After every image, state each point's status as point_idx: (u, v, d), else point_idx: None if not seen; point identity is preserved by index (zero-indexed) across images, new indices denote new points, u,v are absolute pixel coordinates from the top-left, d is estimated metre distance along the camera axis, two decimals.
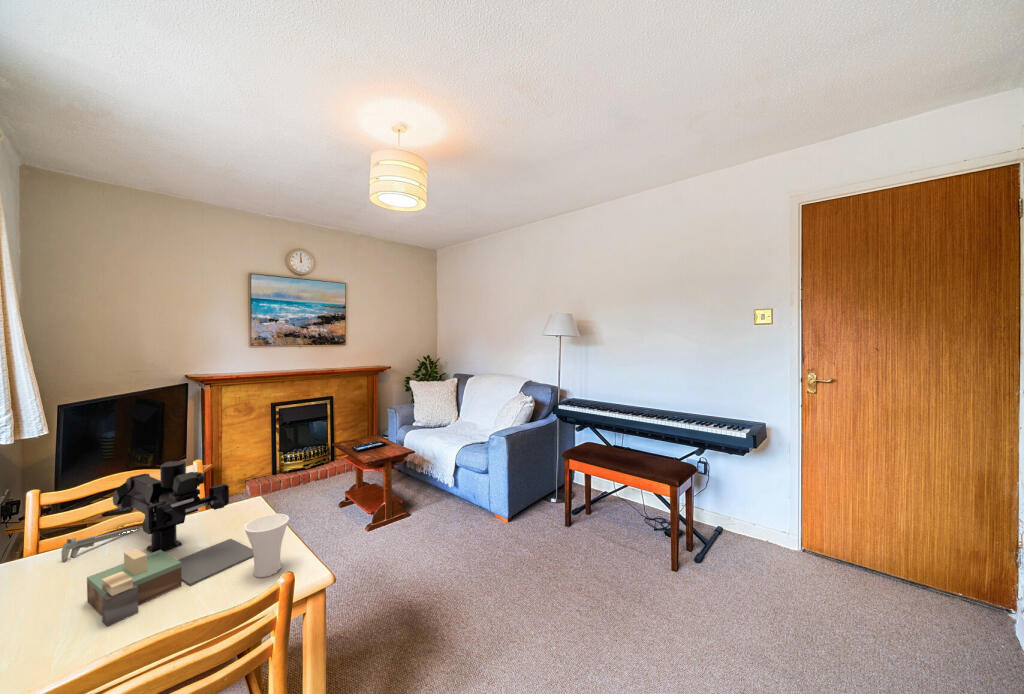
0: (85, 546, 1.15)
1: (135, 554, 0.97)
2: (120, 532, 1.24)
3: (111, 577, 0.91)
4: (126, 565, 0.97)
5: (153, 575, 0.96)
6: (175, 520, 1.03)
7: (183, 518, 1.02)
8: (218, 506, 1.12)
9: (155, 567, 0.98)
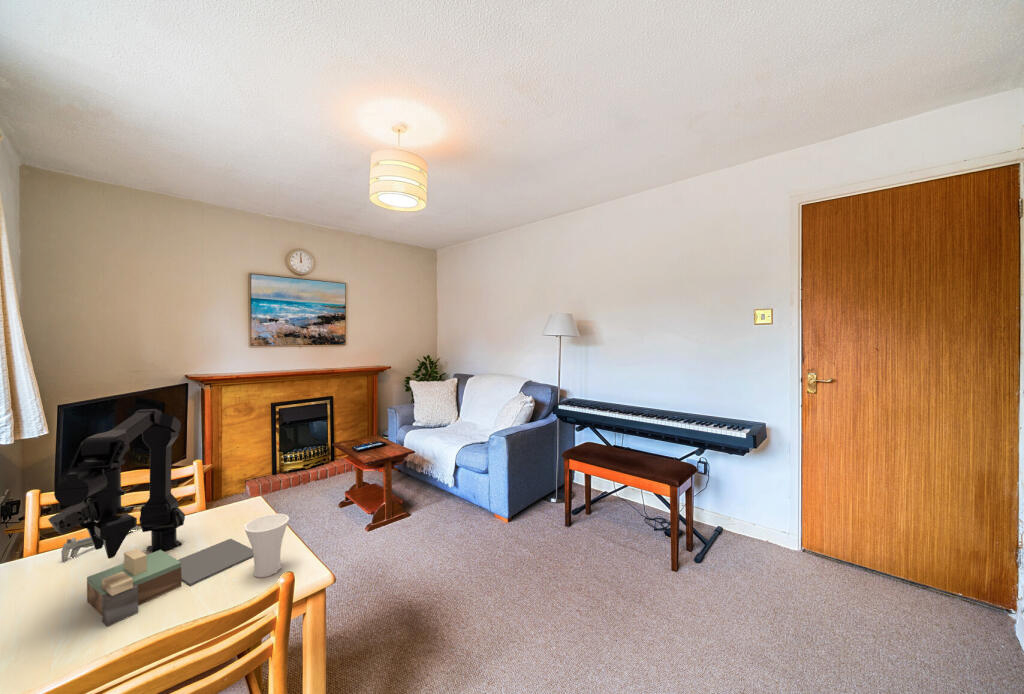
0: (85, 546, 1.15)
1: (135, 554, 0.97)
2: None
3: (111, 577, 0.91)
4: (126, 565, 0.97)
5: (153, 575, 0.96)
6: None
7: None
8: None
9: (155, 567, 0.98)
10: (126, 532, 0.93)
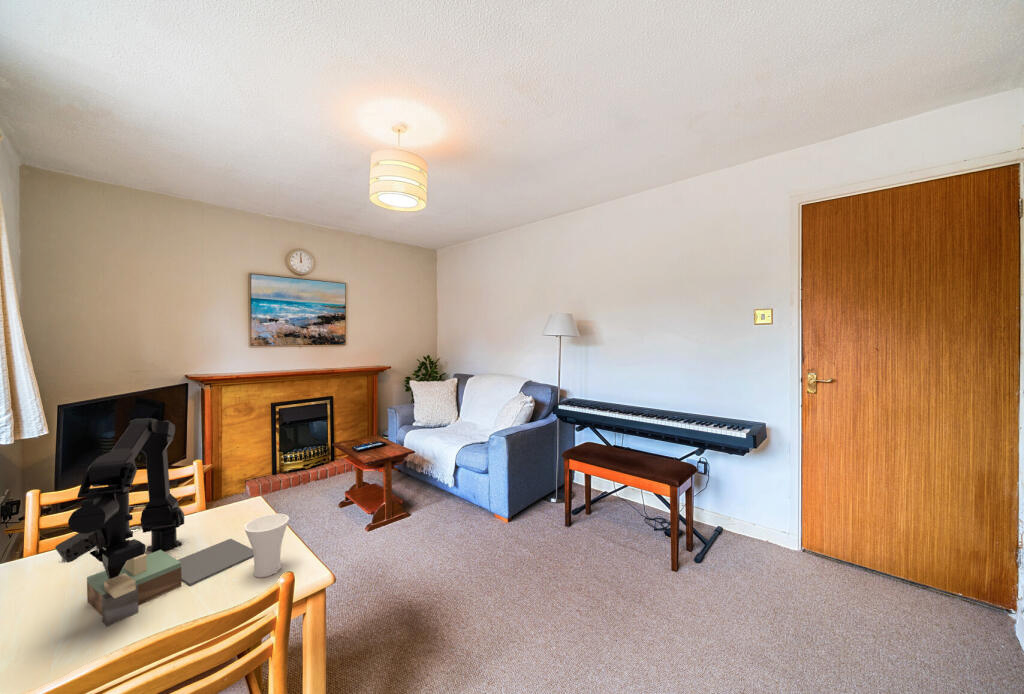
0: None
1: None
2: None
3: (114, 579, 0.90)
4: (126, 565, 0.97)
5: (153, 575, 0.96)
6: None
7: None
8: None
9: (155, 567, 0.98)
10: None
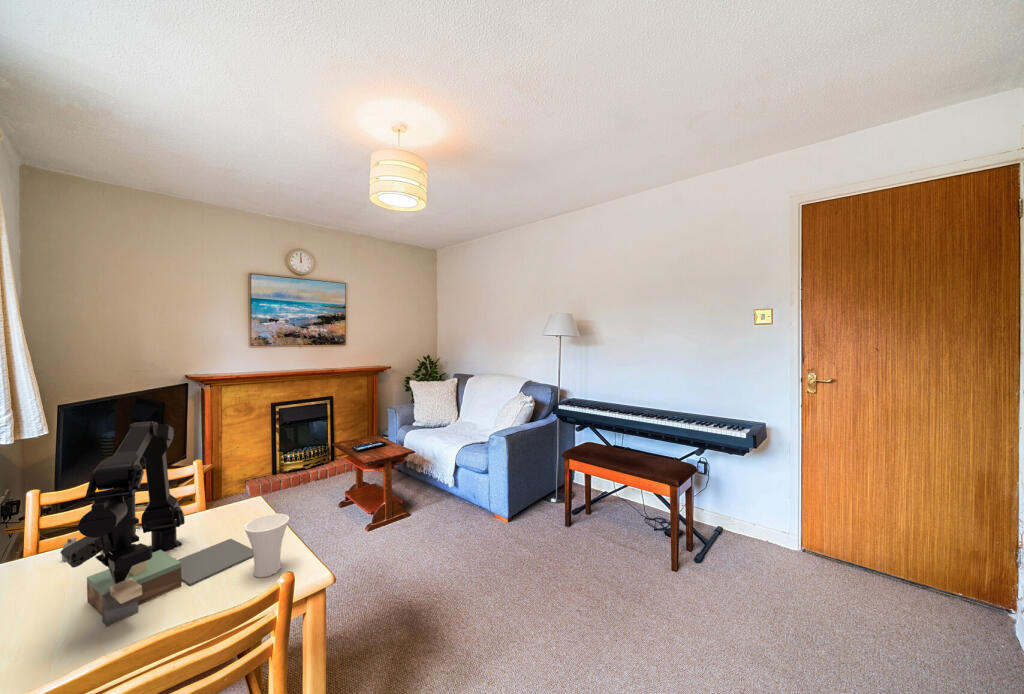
0: None
1: None
2: None
3: (119, 584, 0.88)
4: None
5: (153, 575, 0.96)
6: None
7: None
8: None
9: (155, 567, 0.98)
10: None
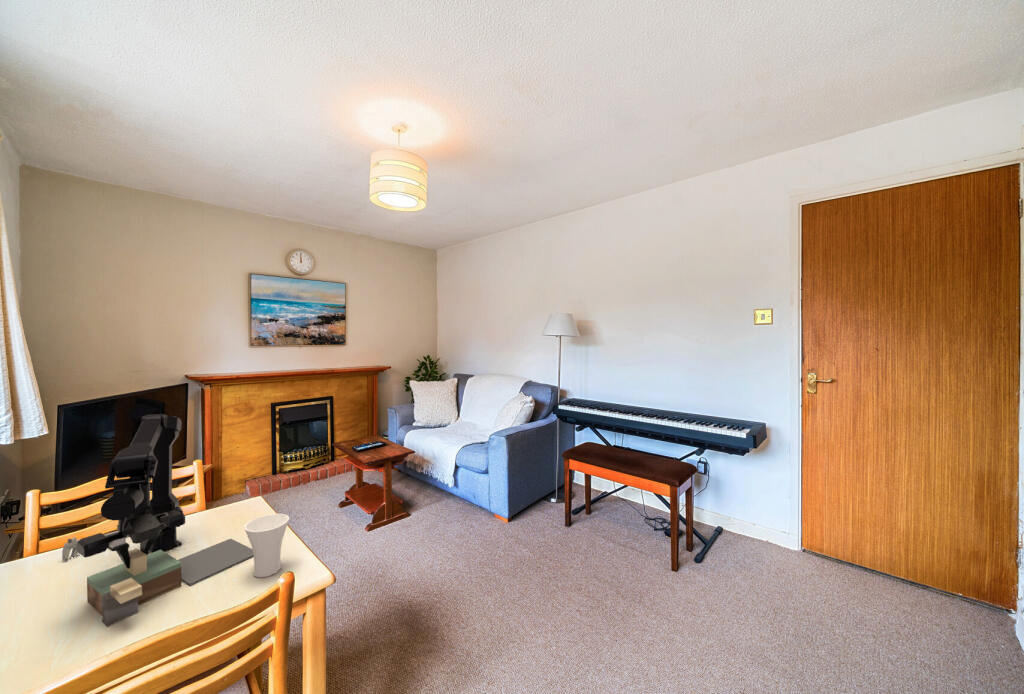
0: None
1: (135, 554, 0.97)
2: None
3: (120, 584, 0.88)
4: None
5: (153, 575, 0.96)
6: (121, 559, 0.96)
7: None
8: (141, 550, 0.99)
9: (155, 567, 0.98)
10: None
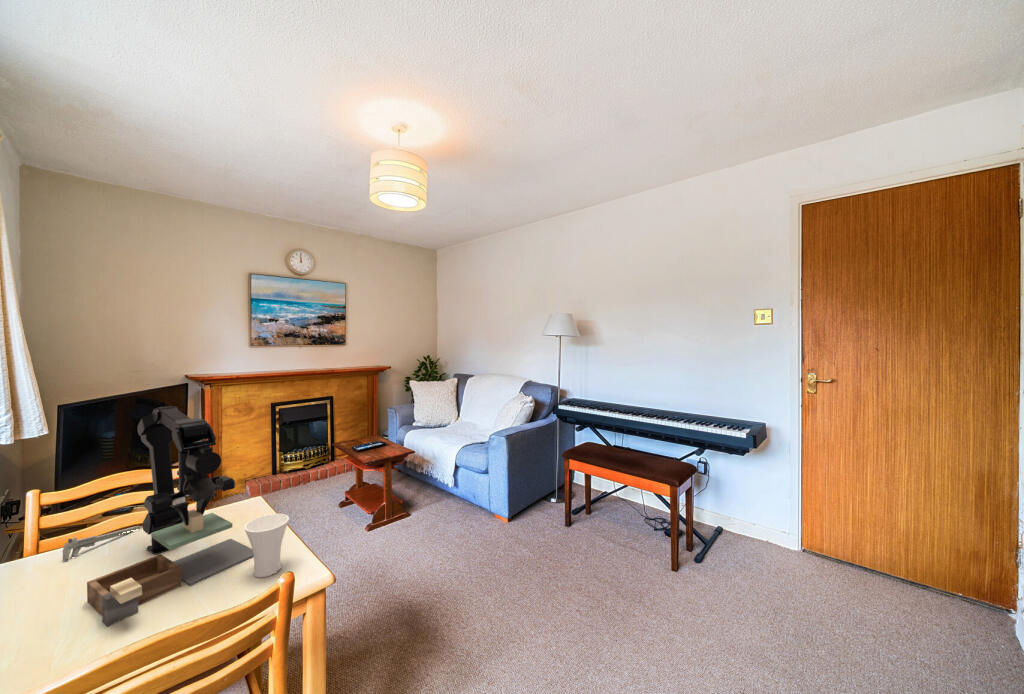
0: (86, 546, 1.16)
1: (192, 514, 1.07)
2: (121, 532, 1.25)
3: (120, 584, 0.88)
4: None
5: (209, 533, 1.06)
6: (181, 516, 1.06)
7: None
8: (197, 510, 1.09)
9: (210, 526, 1.08)
10: None
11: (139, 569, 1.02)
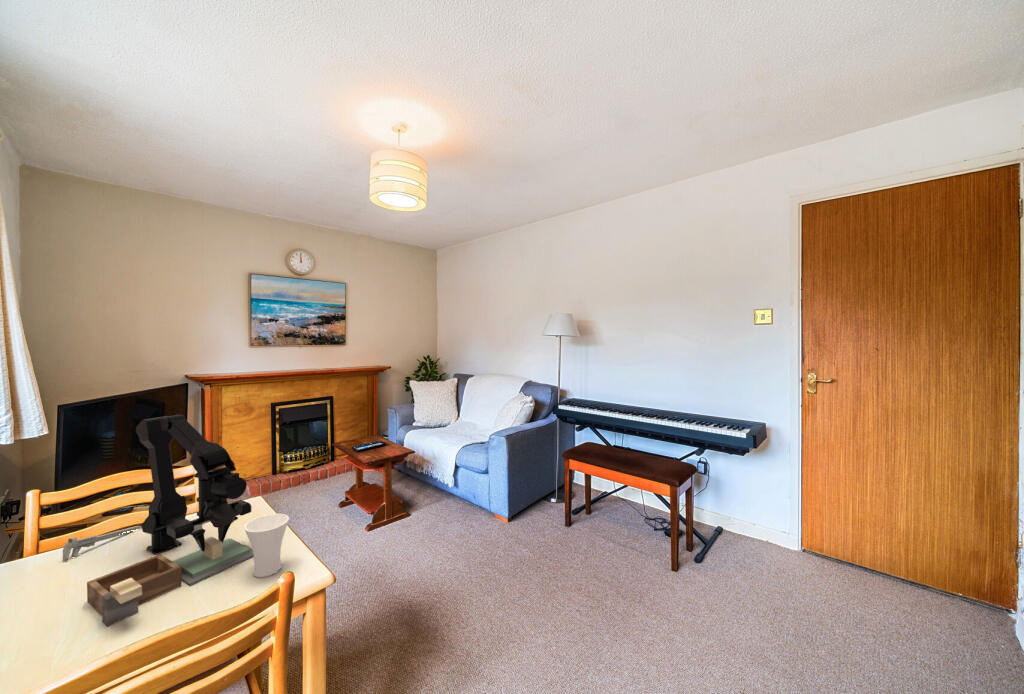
0: (86, 545, 1.16)
1: (212, 541, 1.11)
2: (121, 532, 1.25)
3: (120, 584, 0.88)
4: (204, 551, 1.12)
5: (228, 559, 1.10)
6: (197, 543, 1.09)
7: None
8: (219, 533, 1.14)
9: (228, 553, 1.13)
10: None
11: (139, 569, 1.02)
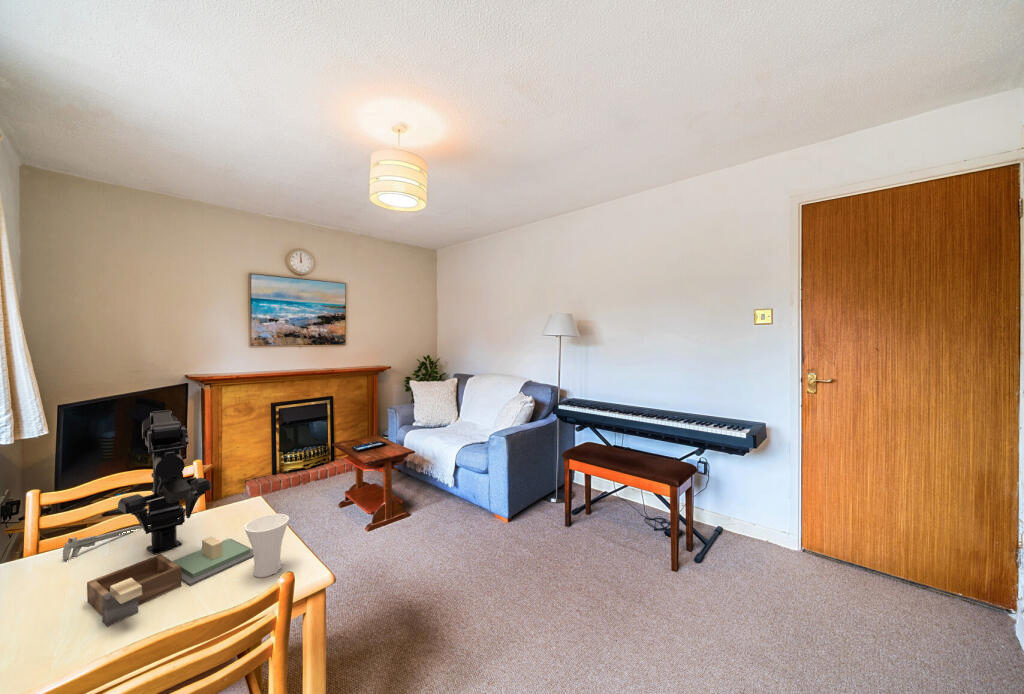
0: (86, 545, 1.16)
1: (212, 541, 1.11)
2: (121, 531, 1.25)
3: (120, 584, 0.88)
4: (204, 551, 1.12)
5: (228, 559, 1.10)
6: (140, 523, 1.04)
7: None
8: (186, 507, 1.13)
9: (228, 553, 1.13)
10: None
11: (139, 569, 1.02)
